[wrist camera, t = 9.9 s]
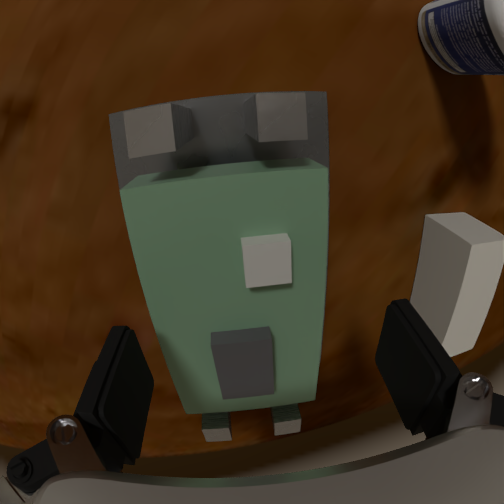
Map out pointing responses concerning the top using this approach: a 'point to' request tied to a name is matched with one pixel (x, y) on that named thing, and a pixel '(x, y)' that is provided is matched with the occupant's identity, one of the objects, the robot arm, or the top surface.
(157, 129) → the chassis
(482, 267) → the block
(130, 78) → the top surface
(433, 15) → the pill bottle
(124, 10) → the top surface
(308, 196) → the board
